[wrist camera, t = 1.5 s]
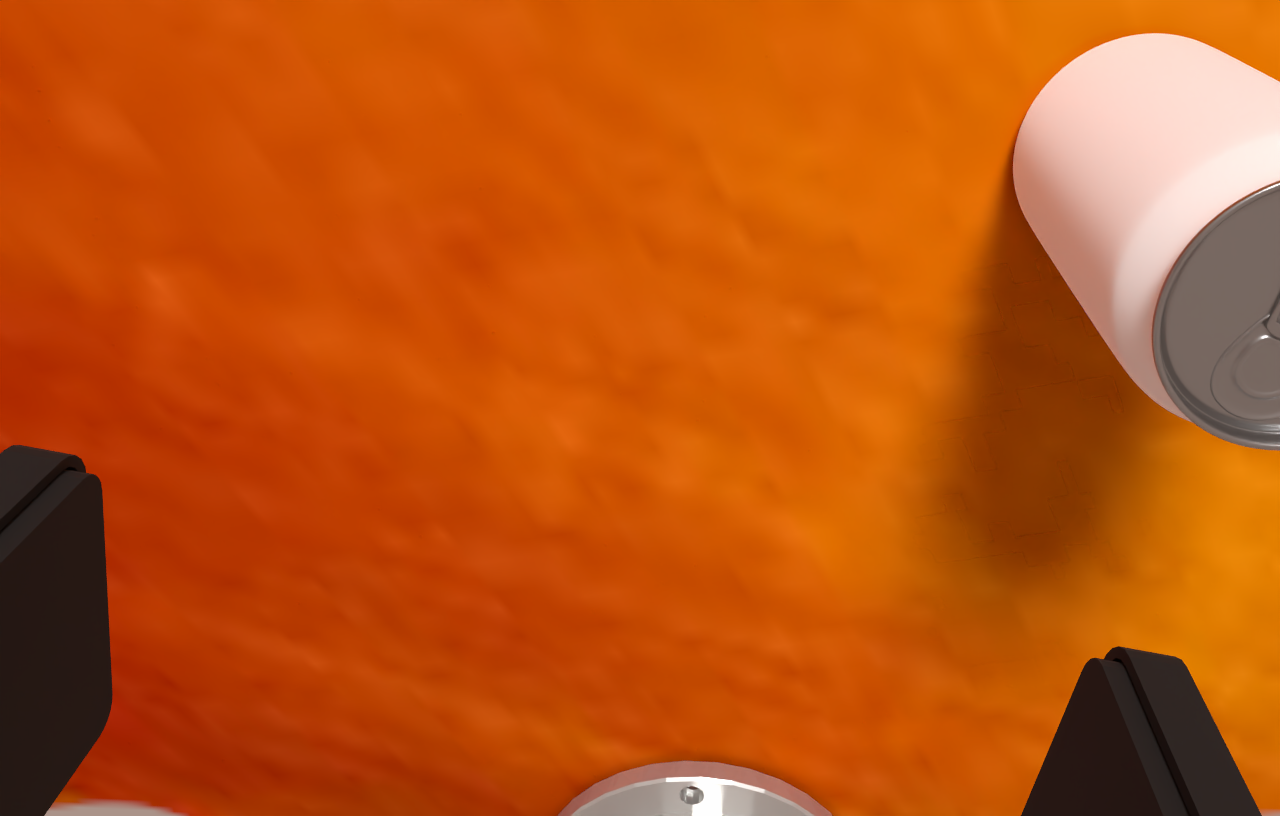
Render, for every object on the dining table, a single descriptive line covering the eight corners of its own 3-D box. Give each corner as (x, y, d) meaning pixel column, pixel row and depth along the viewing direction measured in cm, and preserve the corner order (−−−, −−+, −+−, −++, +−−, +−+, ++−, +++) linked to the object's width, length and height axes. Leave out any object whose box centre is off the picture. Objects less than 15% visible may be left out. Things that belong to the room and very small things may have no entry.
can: (973, 228, 34) (1072, 421, 24) (1066, -1, 31) (1229, 101, 21) (1187, 289, 35) (1381, 506, 24) (1300, 67, 32) (1580, 203, 21)
